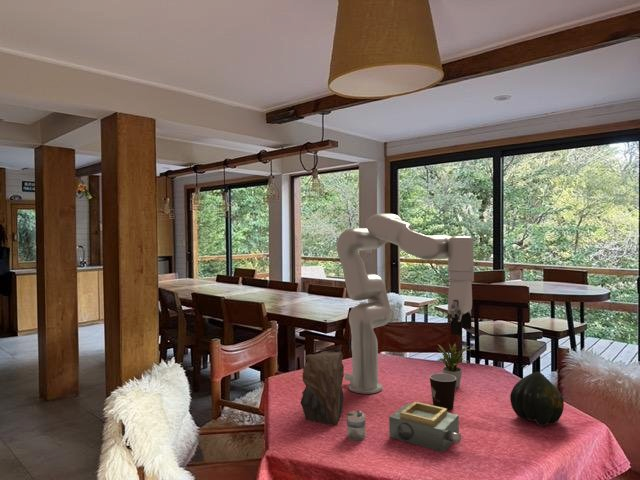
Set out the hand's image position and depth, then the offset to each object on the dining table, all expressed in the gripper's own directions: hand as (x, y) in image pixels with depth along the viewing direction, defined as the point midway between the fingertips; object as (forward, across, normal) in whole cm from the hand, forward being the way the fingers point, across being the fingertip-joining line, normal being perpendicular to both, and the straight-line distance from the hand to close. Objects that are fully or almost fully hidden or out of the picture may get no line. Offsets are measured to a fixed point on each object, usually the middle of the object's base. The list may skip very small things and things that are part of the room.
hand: (461, 331), depth 142 cm
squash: (+28, -12, +19) cm, 36 cm away
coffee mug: (+28, -8, -9) cm, 30 cm away
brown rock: (+28, +21, -37) cm, 51 cm away
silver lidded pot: (+28, +28, -22) cm, 45 cm away
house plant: (+28, -28, -11) cm, 41 cm away
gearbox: (+28, +17, -4) cm, 33 cm away
